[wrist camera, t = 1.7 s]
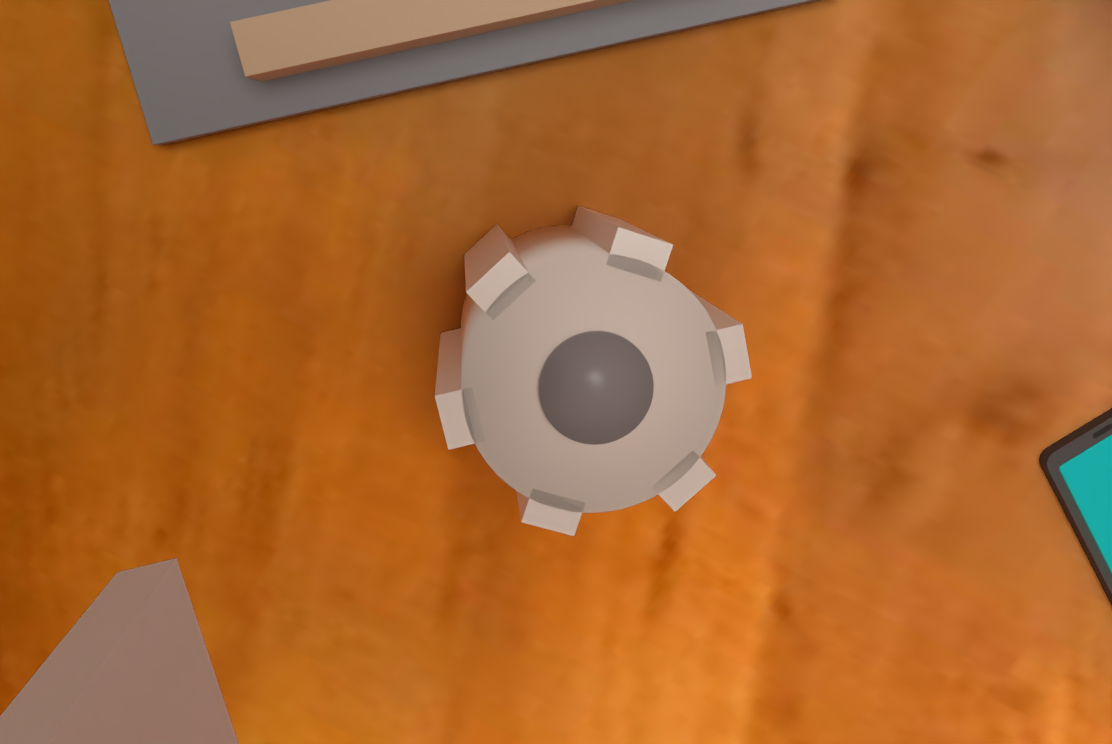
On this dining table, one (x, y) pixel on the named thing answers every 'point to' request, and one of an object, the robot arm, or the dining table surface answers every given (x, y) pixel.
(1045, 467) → the smartphone
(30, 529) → the dining table surface
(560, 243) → the planet gear
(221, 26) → the carrier plate
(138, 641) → the robot arm
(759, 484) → the dining table surface
